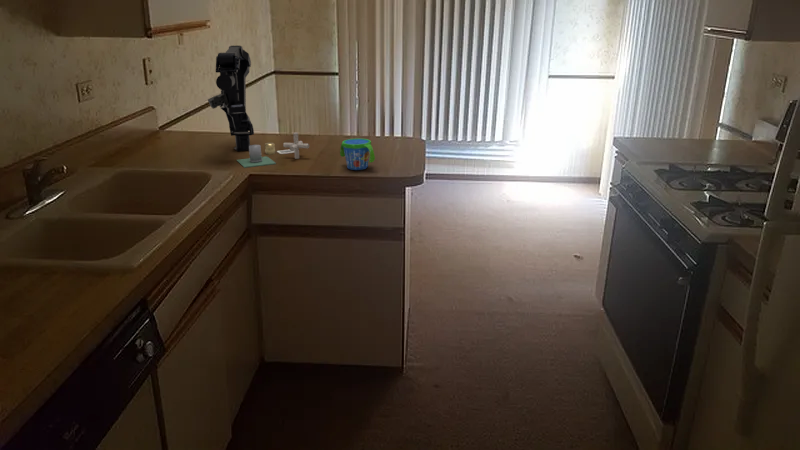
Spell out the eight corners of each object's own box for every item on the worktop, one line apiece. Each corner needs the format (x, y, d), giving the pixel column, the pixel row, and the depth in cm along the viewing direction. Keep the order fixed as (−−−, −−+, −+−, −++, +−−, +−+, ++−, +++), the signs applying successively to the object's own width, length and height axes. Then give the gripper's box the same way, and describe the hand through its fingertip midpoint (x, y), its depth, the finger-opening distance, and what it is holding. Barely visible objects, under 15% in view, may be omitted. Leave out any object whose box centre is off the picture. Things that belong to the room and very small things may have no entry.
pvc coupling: (248, 160, 239) (247, 145, 237) (260, 159, 241) (259, 144, 239) (251, 163, 235) (249, 147, 233) (263, 162, 237) (262, 146, 235)
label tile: (276, 151, 254) (276, 150, 254) (295, 149, 258) (295, 148, 258) (280, 154, 250) (280, 153, 250) (299, 152, 254) (299, 151, 254)
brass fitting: (264, 152, 253) (263, 143, 251) (273, 151, 254) (273, 142, 253) (266, 155, 249) (266, 145, 248) (276, 153, 251) (275, 144, 250)
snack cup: (333, 166, 231) (331, 140, 228) (354, 162, 238) (354, 135, 235) (360, 175, 221) (359, 146, 217) (382, 169, 228) (381, 142, 224)
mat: (236, 160, 240) (236, 159, 240) (267, 157, 246) (267, 156, 245) (244, 167, 230) (244, 166, 230) (275, 164, 236) (275, 163, 235)
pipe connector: (304, 161, 238) (303, 136, 235) (280, 160, 240) (278, 135, 237) (313, 155, 248) (312, 130, 244) (289, 154, 250) (288, 129, 246)
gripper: (203, 85, 239) (208, 125, 244) (213, 91, 223) (217, 134, 229) (232, 83, 244) (236, 123, 249) (244, 89, 228) (248, 131, 234)
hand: (234, 127), depth 240 cm, fingers open, 9 cm apart
